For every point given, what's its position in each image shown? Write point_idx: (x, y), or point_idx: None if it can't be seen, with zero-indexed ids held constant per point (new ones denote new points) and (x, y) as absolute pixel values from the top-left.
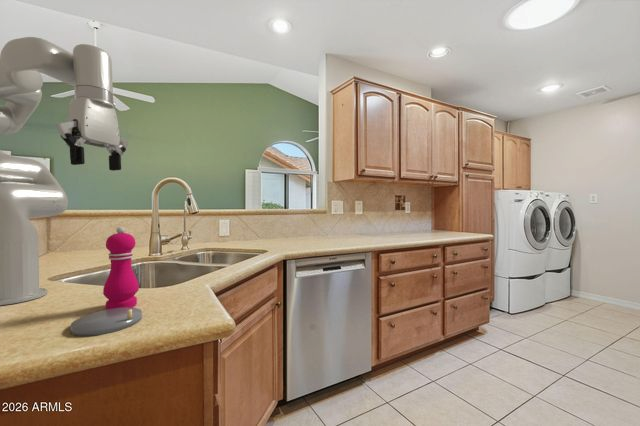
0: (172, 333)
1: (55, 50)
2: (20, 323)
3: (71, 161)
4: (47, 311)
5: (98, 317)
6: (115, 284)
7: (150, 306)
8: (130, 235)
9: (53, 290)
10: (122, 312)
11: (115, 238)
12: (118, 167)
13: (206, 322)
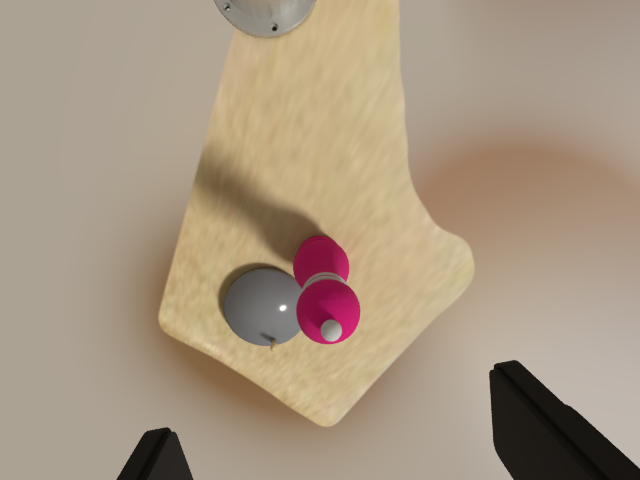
0: (279, 399)
1: None
2: (210, 186)
3: (138, 455)
4: (254, 159)
5: (260, 297)
6: (301, 287)
7: None
8: (342, 339)
9: None
10: (287, 308)
11: (305, 333)
12: (503, 462)
13: (319, 409)
